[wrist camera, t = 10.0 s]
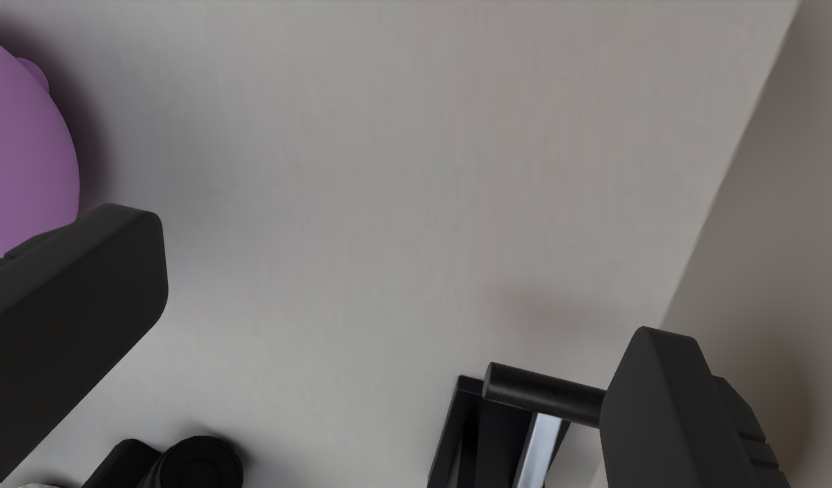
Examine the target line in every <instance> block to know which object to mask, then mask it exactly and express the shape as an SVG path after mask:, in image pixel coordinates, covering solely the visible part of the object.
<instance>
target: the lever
mask: <svg viewBox="0 0 832 488" xmlns="http://www.w3.org/2000/svg"><path fill="white" fill-rule="evenodd" d="M606 391H607V390H603V389H599V388H595V387H591V386H587V385H583V384H579V383H575V382H571V381H567V380H563V379H559V378H555V377H551V376H547V375H543V374H539V373H535V372H531V371H527V370H523V369H519V368H515V367H511V366H507V365H503V364H499V363H495V362H490V364H489V365H488V368H487V371H486V375H485V379H484V384H483V392H482V396H483V399H484V400H488V401H492V402H496V403H500V404H504V405H507V406H511V407H515V408H519V409H523V410H527V411H531V412H533V414H532V418H531V422H530V425H529V429H528V432H527V436H526V439H525V443H524V446H523V450H522V453H521V457H520V461H519V464H518V468H517V471H516V475H515V478H514V482H513V485H512V488H543V485H544V481H545V478H546V474H547V471H548V467H549V464H550V461H551V457H552V454H553V450H554V447H555V443H556V440H557V437H558V433H559V430H560V426H561V423H562V420H566V421H570V422H574V423H578V424H582V425H586V426H590V427H594V428H598V429H600V428H599V424H600V412H601V407H602V403H603V399H604V396H605V394H606Z"/></svg>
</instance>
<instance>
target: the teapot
mask: <svg viewBox="0 0 832 488" xmlns="http://www.w3.org/2000/svg"><path fill="white" fill-rule="evenodd" d="M79 193H80V181H79V168H78V162H77V157H76V152H75V148H74V144H73V141H72V138H71V135H70V133H69V130H68V128H67V126H66V123H65V121H64V119H63V117H62V115H61V114H60V112H59V110H58V108H57V106H56V105H55V103H54V102H53V100H52V99H51V97H50V96H49V84H48V81H47V79H46V77H45V75H44V73H43V72H42V71H41V69H40V68H39V67H38V66H37V65H35V64H34V63H33V62H31V61H30V60H27V59H25V58H15V57H13V56H12V55H11V54H10V53H9V52H8V51H6V50H5V49H4V48H3V47H2V46H0V258H3V257H4V253H6V252H8V251H9V250H11V249H13V248H14V247H16V246H18V245H19V244H21V243H23V242H24V241H26V240H28V239H29V238H31V237H33V236H35V235H38V234H41V233H44V232H48V231H51V230H54V229H57V228H60V227H63V226H66V225H69V224H71V223H73V222H75V221H76V216H77V212H78V207H79Z"/></svg>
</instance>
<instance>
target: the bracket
mask: <svg viewBox="0 0 832 488" xmlns="http://www.w3.org/2000/svg"><path fill="white" fill-rule="evenodd" d="M483 384H484V381H480V380H476V379H472V378H468V377H464V376H459V377H458V381H457V384H456V387H455V391H454V394H453V397H452V401H451V404H450V407H449V411H448V414H447V417H446V421H445V424H444V427H443V431H442V434H441V437H440V441H439V444H438V447H437V451H436V454H435V457H434V461H433V464H432V467H431V471H430V474H429V477H428V483H427V488H512V485H513V482H514V478H515V475H516V471H517V468H518V464H519V461H520V457H521V453H522V450H523V446H524V443H525V439H526V436H527V432H528V429H529V425H530V422H531V418H532V414H533V412H531V411H527V410H523V409H519V408H515V407H511V406H507V405H504V404H500V403H496V402H492V401H488V400H484V399H483V396H482V392H483ZM570 424H571V422H570V421H566V420H562V423H561V426H560V430H559V433H558V437H557V440H556V443H555V447H554V450H553V454H552V457H551V461H550V464H549V467H548V470H549V468H550V466H551V464H552V462H553V460H554V457H555V455H556V453H557V451H558V449H559V447H560V445H561V443H562V441H563V439H564V436H565V434H566V432H567V430H568V428H569V426H570ZM547 472H548V471H547ZM543 488H545V483H544V485H543Z"/></svg>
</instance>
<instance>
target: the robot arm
mask: <svg viewBox="0 0 832 488" xmlns="http://www.w3.org/2000/svg"><path fill="white" fill-rule="evenodd" d="M167 299H168V278H167V268H166V258H165V248H164V238H163V229H162V223H161V220H160V218H159V217H158V216H157V215H156V214H155V213H152V212H148V211H144V210H140V209H135V208H131V207H127V206H122V205H118V204H113V203H106V204H103V205H101V206H99V207H97V208H96V209H94V210H92V211H91V212H89V213H88V214H86V215H84V216H83V217H81V218H79V219H78V220H76V221H75V222H73V223H71V224H69V225H66V226H63V227H60V228H57V229H54V230H51V231H48V232H44V233H41V234H38V235H35V236H33V237H31V238H29V239H28V240H26V241H24V242H23V243H21V244H19V245H18V246H16V247H14V248H13V249H11V250H9V251H8V252H6V253H4V257H3V258H0V483H2V482H3V481H4V480H5V478H6V477H7V476H8V475H9V474H10V473H11V472H12V471H13V470H14V469H15V468H16V467H17V466H18V465H19V464H20V463H21V462H22V461H23V460H24V459H25V458H26V457H27V456H28V455H29V454H30V453H31V452H32V451H33V450H34V449H35V448H36V447H37V445H38V444H39V443H40V442H41V441H42V440H43V439H44V438H45V437H46V436H47V435H48V434H49V433H50V432H51V431H52V430H53V429H54V428H55V427H56V426H57V425H58V424H59V423H60V422H61V421H62V420H63V419H64V418H65V417H66V416H67V415H68V414H69V412H70V411H71V410H72V409H73V408H74V407H75V406H76V405H77V404H78V403H79V402H80V401H81V400H82V399H83V398H84V397H85V396H86V395H87V394H88V393H89V392H90V391H91V390H92V389H93V388H94V387H95V386H96V385H97V384H98V383H99V382H100V380H101V379H102V378H103V377H104V376H105V375H106V374H107V373H108V372H109V371H110V370H111V369H112V368H113V367H114V366H115V365H116V364H117V363H118V362H119V361H120V360H121V359H122V358H123V357H124V356H125V355H126V354H127V353H128V352H129V351H130V350H131V349H132V347H133V346H134V345H135V344H136V343H137V342H138V341H139V340H140V339H141V338H142V337H143V336H144V335H145V334H146V333H147V332H148V331H149V330H150V329H151V328H152V327H153V326H154V325H155V324H156V322H157V321H158V320H159V318H160V317H161V315H162V313H163V311H164V309H165V306H166V303H167ZM599 428H600V438H601V444H602V450H603V456H604V462H605V468H606V475H607V481H608V487H609V488H790V485H789V483H788V481H787V479H786V477H785V476H784V474H783V472H780V471H779V470H778V467H779V463H778V461H777V459H776V457H775V455H774V453H773V452H772V449H771V447H770V445H769V444H765V439H766V438H765V435H764V433H763V432H762V429H761V427H760V425H759V423H758V421H757V419H756V417H755V415H754V413H753V411H752V409H751V407H750V406H749V405H748V404H747V403H746V402H745V401H744V400H743V399H742V397H741V396H740V395H739V394H738V393H737V392H736V391H735V390H734V389H733V388H732V387H731V385H730V384H729V383H728V382H727V381H726V380H725V379H724V378H721V377H717V376H713V375H712V374H711V372H710V370H709V367H708V365H707V363H706V361H705V359H704V356H703V354H702V352H701V349H700V347H699V345H698V343H697V341H696V340H695V339H694V338H692V337H689V336H684V335H680V334H676V333H671V332H667V331H662V330H658V329H654V328H649V327H645V326H642V327H640V328H638V329H637V331H636V332H635V333H634V335H633V337H632V339H631V341H630V343H629V345H628V347H627V349H626V351H625V353H624V356H623V358H622V360H621V362H620V364H619V366H618V368H617V370H616V372H615V375H614V377H613V379H612V381H611V383H610V385H609V387H608V389H607V391H606V394H605V396H604V399H603V403H602V407H601V412H600V424H599Z"/></svg>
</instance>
